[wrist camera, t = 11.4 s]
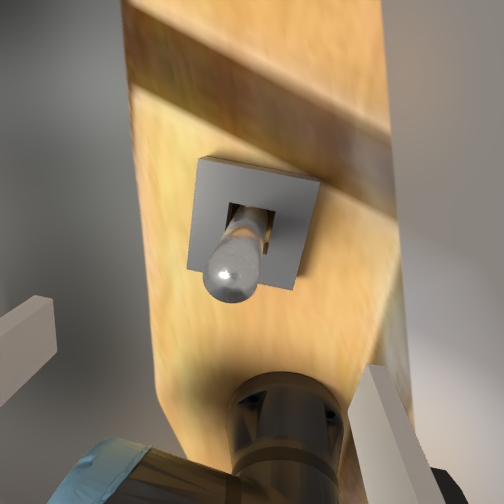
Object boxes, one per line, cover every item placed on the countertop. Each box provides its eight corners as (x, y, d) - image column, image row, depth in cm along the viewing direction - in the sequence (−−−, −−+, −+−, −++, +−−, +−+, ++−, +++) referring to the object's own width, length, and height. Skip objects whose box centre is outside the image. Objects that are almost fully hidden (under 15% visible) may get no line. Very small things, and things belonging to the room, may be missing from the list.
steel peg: (264, 236, 32) (252, 308, 19) (233, 230, 32) (199, 296, 19) (271, 205, 31) (262, 260, 18) (238, 198, 31) (206, 248, 18)
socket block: (291, 277, 34) (292, 290, 31) (194, 257, 34) (186, 269, 31) (317, 177, 30) (320, 182, 27) (205, 156, 30) (198, 158, 27)
